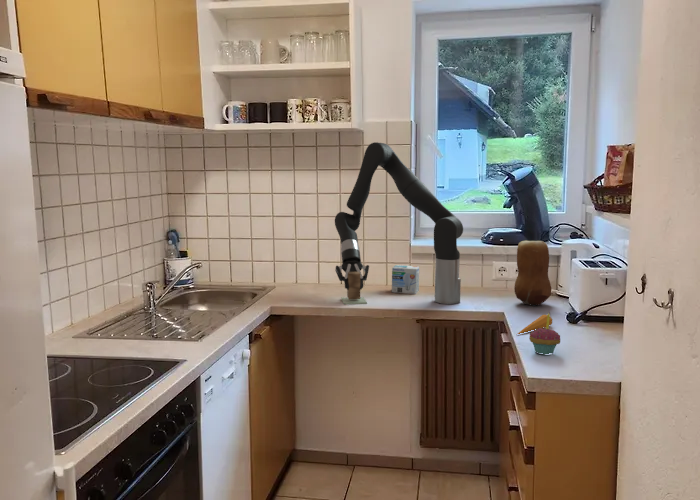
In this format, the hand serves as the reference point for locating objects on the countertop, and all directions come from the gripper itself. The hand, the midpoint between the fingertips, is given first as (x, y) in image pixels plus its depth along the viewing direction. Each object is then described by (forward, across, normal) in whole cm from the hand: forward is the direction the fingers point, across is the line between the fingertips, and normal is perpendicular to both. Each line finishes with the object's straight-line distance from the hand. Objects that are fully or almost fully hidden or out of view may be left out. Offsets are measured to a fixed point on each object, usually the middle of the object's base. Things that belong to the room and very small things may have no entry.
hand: (354, 288), depth 230 cm
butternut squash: (+13, +67, -5) cm, 68 cm away
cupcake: (+52, +46, -45) cm, 82 cm away
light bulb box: (-8, +24, +16) cm, 30 cm away
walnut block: (+2, 0, +4) cm, 5 cm away
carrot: (+37, +52, -28) cm, 69 cm away
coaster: (+3, 0, +5) cm, 6 cm away
